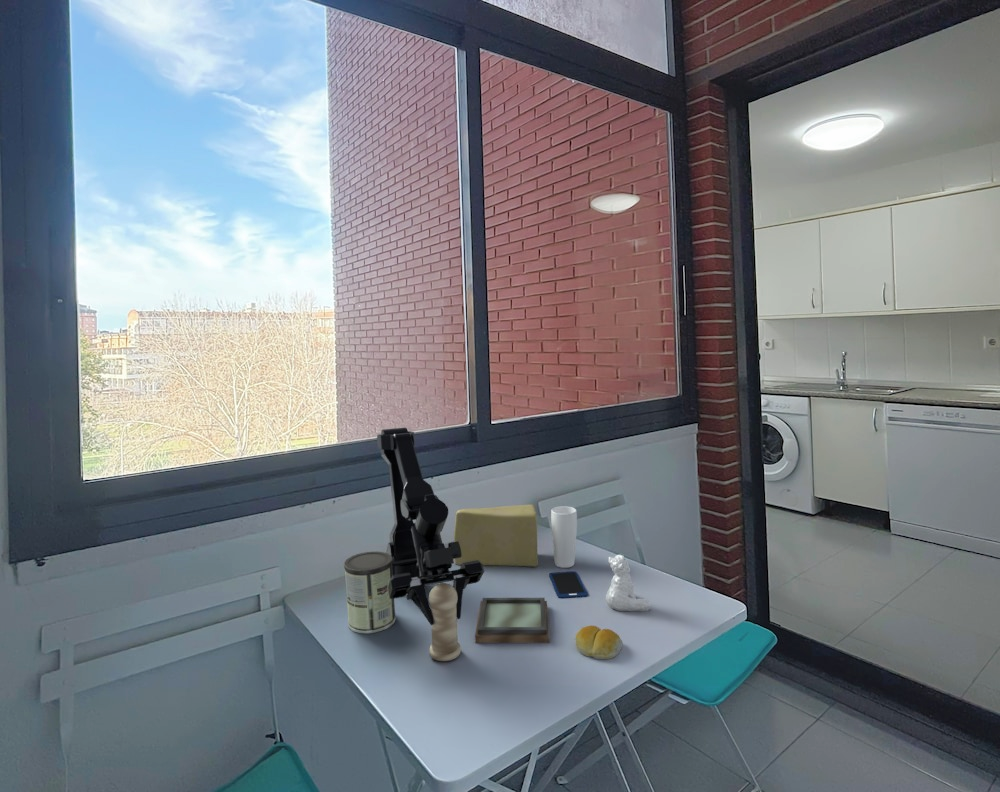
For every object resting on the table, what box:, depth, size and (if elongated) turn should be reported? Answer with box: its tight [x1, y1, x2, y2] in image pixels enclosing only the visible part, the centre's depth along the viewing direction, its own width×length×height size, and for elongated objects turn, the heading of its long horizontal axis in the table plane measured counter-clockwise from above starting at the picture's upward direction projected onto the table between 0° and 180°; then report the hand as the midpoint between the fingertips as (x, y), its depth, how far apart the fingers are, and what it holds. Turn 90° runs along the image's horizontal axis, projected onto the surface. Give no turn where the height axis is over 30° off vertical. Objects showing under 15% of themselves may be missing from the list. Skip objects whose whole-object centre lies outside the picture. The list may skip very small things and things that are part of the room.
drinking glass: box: [550, 505, 578, 569], centre depth 157 cm, size 7×7×15 cm
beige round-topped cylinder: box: [428, 582, 461, 662], centre depth 115 cm, size 6×6×14 cm
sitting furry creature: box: [605, 554, 651, 612], centre depth 134 cm, size 10×9×12 cm
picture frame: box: [474, 597, 550, 644], centre depth 127 cm, size 15×15×2 cm
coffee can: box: [343, 551, 396, 634], centre depth 129 cm, size 10×10×14 cm
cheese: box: [453, 504, 539, 568], centre depth 160 cm, size 22×10×15 cm, turn 92°
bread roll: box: [574, 624, 623, 660], centre depth 117 cm, size 8×9×4 cm
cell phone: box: [548, 570, 589, 599], centre depth 146 cm, size 7×14×1 cm, turn 5°
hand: (445, 621), depth 114 cm, fingers closed on beige round-topped cylinder, 5 cm apart
